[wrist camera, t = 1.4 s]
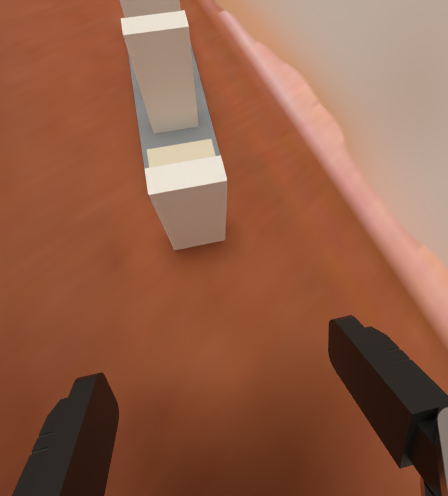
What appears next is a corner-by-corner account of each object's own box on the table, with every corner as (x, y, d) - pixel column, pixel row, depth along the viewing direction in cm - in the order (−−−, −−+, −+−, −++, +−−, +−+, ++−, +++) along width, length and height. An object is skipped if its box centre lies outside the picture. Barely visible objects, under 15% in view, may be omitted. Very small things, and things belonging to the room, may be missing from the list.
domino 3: (225, 240, 27) (227, 180, 17) (174, 250, 26) (148, 194, 17) (220, 222, 27) (220, 155, 18) (171, 231, 27) (144, 168, 18)
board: (226, 185, 29) (226, 180, 28) (150, 199, 28) (148, 194, 27) (182, 18, 38) (181, 9, 38) (125, 26, 38) (122, 17, 37)
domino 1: (190, 90, 32) (177, -16, 23) (147, 97, 32) (117, -9, 23) (187, 78, 33) (174, -30, 24) (145, 85, 33) (115, -23, 23)
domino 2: (198, 126, 30) (188, 26, 21) (153, 133, 30) (123, 35, 21) (195, 113, 31) (184, 10, 22) (151, 120, 31) (120, 18, 21)
